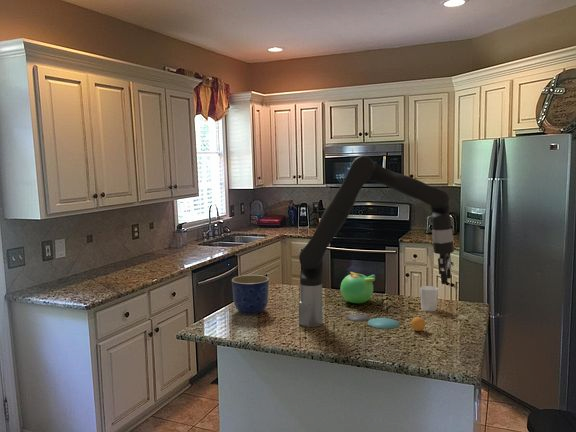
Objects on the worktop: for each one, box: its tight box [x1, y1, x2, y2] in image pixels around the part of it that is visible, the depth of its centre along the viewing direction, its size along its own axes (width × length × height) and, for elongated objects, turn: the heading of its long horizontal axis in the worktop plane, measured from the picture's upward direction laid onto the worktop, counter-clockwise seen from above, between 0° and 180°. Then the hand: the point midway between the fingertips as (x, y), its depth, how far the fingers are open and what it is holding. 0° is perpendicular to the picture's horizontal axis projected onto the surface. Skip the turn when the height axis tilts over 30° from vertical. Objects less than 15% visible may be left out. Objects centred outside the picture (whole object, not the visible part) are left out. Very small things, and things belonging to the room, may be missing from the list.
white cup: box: [419, 285, 439, 312], centre depth 214 cm, size 8×8×10 cm
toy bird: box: [340, 271, 376, 304], centre depth 227 cm, size 18×17×15 cm
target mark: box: [367, 317, 400, 330], centre depth 196 cm, size 13×13×1 cm
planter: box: [231, 274, 270, 315], centre depth 214 cm, size 17×17×15 cm
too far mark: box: [347, 314, 370, 323], centre depth 204 cm, size 9×9×1 cm
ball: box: [410, 316, 426, 332], centre depth 187 cm, size 6×6×6 cm
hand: (446, 281), depth 184 cm, fingers open, 8 cm apart
